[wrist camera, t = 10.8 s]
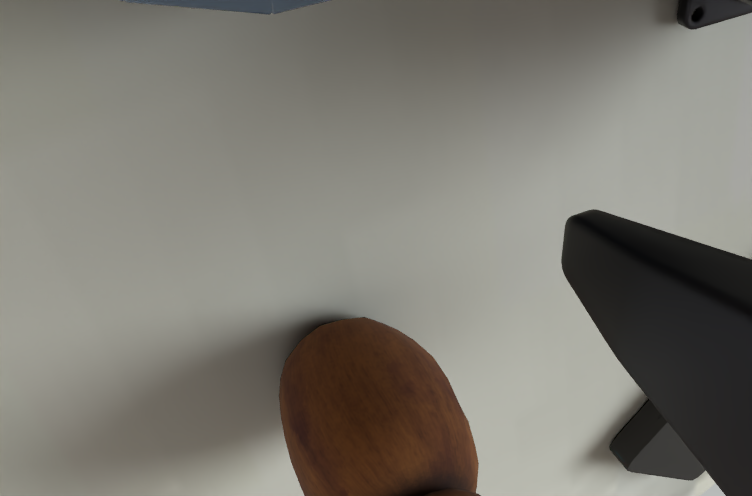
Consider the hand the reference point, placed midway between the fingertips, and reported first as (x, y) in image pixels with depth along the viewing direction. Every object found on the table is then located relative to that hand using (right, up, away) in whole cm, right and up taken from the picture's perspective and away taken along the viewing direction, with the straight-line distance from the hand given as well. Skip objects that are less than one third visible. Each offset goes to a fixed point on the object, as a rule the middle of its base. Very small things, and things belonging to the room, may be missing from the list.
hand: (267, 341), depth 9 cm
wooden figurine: (0, -3, +18) cm, 19 cm away
